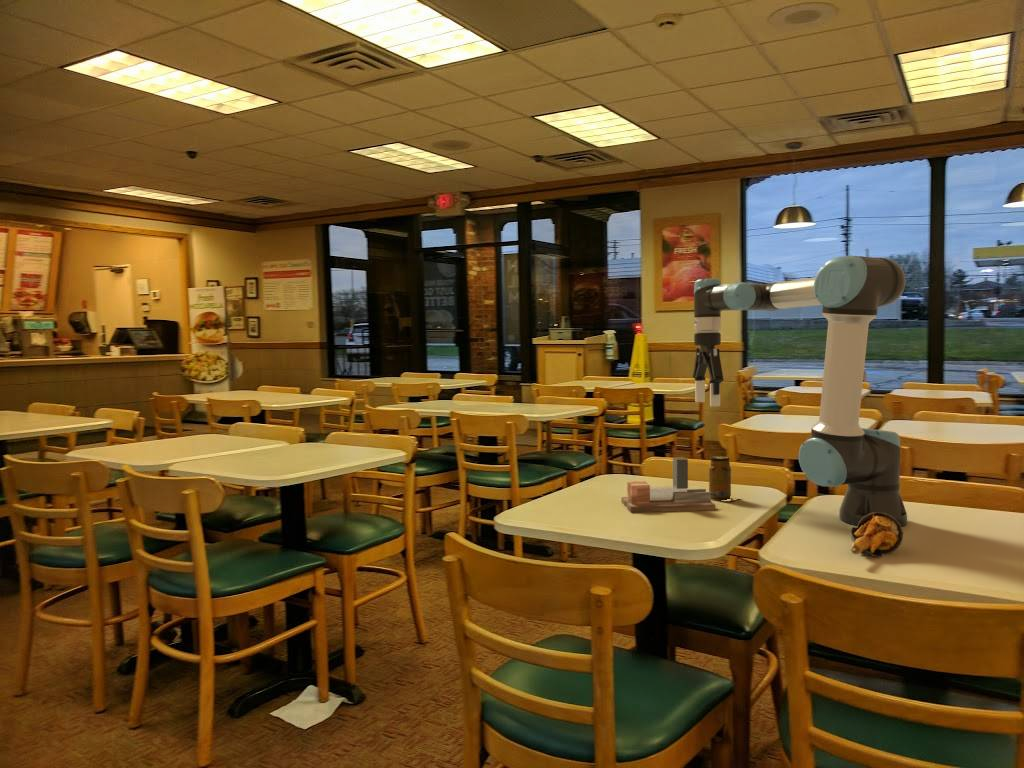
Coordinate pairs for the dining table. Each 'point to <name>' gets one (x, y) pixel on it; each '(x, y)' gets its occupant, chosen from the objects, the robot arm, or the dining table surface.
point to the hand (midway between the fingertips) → (707, 404)
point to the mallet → (678, 481)
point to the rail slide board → (641, 499)
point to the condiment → (720, 478)
